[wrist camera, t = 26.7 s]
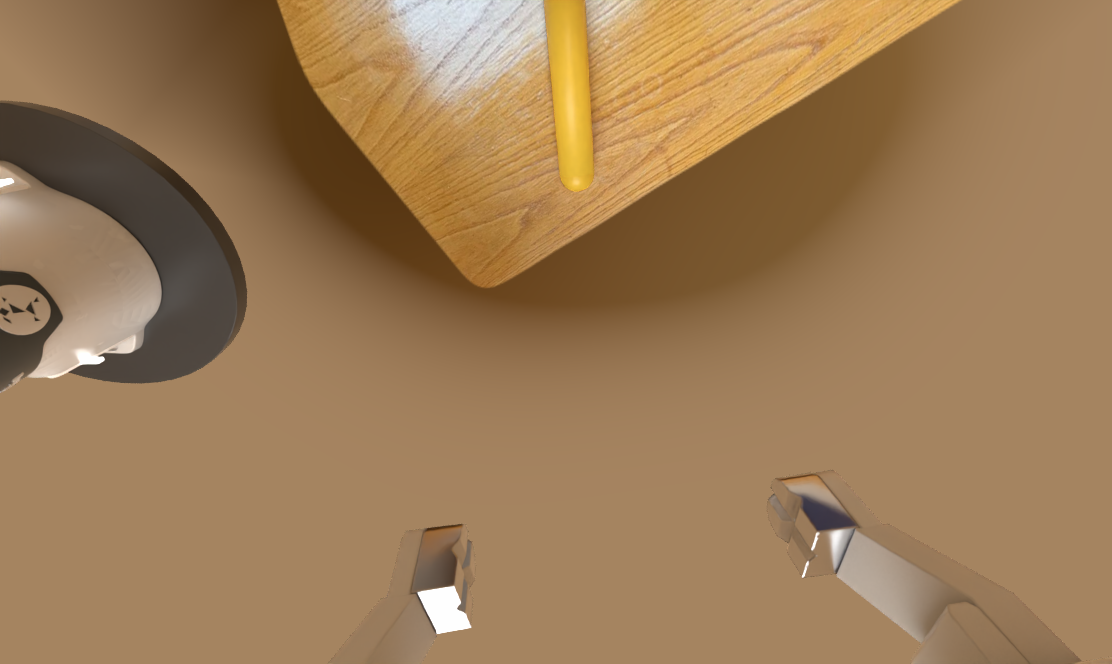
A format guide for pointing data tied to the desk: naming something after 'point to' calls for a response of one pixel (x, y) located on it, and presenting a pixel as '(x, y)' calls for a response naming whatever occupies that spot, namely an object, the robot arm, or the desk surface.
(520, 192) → the desk surface
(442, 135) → the desk surface
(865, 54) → the desk surface
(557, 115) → the yellow rounded rod
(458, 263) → the desk surface
